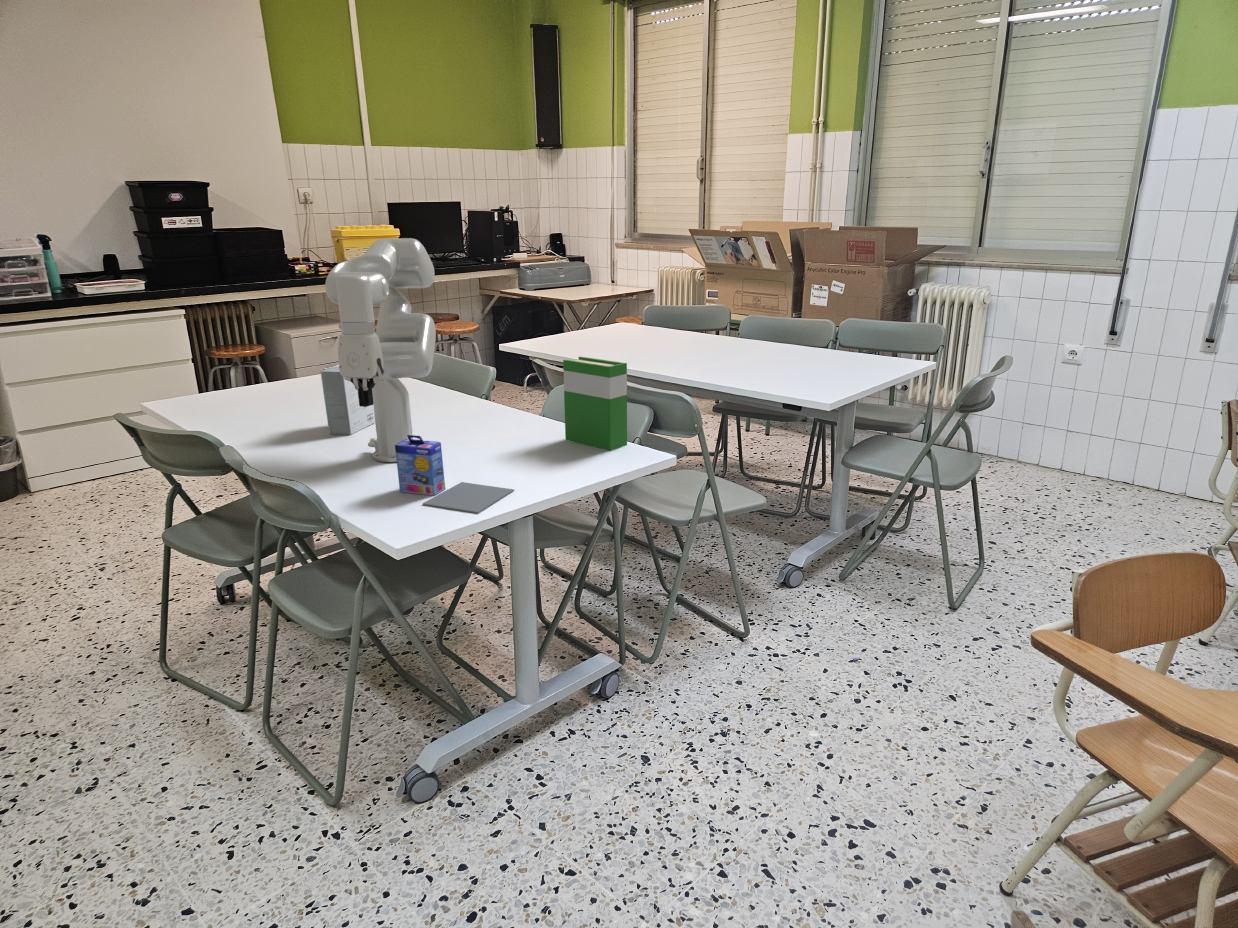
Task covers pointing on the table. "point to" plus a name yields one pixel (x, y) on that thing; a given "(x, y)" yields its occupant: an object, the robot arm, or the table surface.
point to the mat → (468, 497)
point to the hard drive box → (343, 404)
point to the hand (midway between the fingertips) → (366, 405)
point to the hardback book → (595, 402)
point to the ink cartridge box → (420, 466)
